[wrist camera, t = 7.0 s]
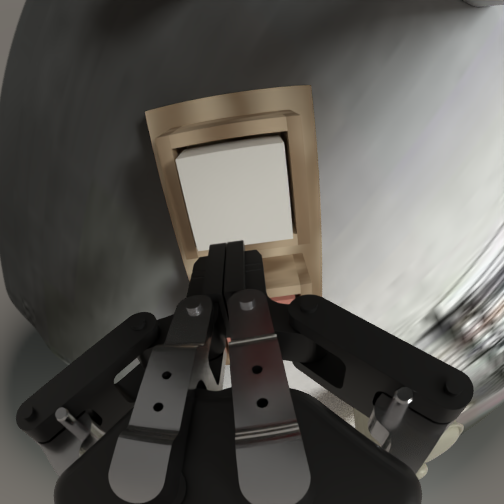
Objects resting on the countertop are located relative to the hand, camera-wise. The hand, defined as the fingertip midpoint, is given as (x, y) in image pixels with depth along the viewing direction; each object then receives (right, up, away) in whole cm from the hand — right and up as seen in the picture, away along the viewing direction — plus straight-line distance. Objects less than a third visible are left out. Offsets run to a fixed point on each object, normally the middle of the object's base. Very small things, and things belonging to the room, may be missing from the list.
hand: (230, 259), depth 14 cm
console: (+1, +2, +17) cm, 18 cm away
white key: (0, +5, +9) cm, 11 cm away
